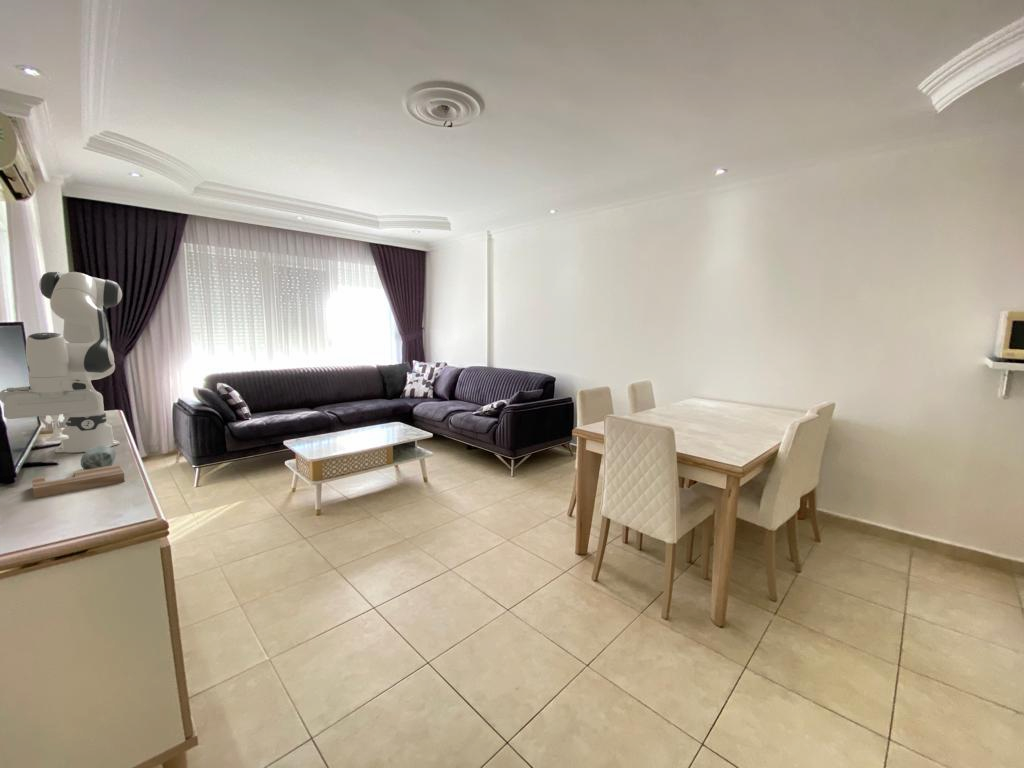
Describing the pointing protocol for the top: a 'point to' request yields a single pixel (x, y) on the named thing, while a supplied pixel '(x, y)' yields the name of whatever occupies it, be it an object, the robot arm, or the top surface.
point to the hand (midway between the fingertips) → (56, 428)
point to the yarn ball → (98, 457)
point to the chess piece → (56, 430)
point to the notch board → (78, 481)
